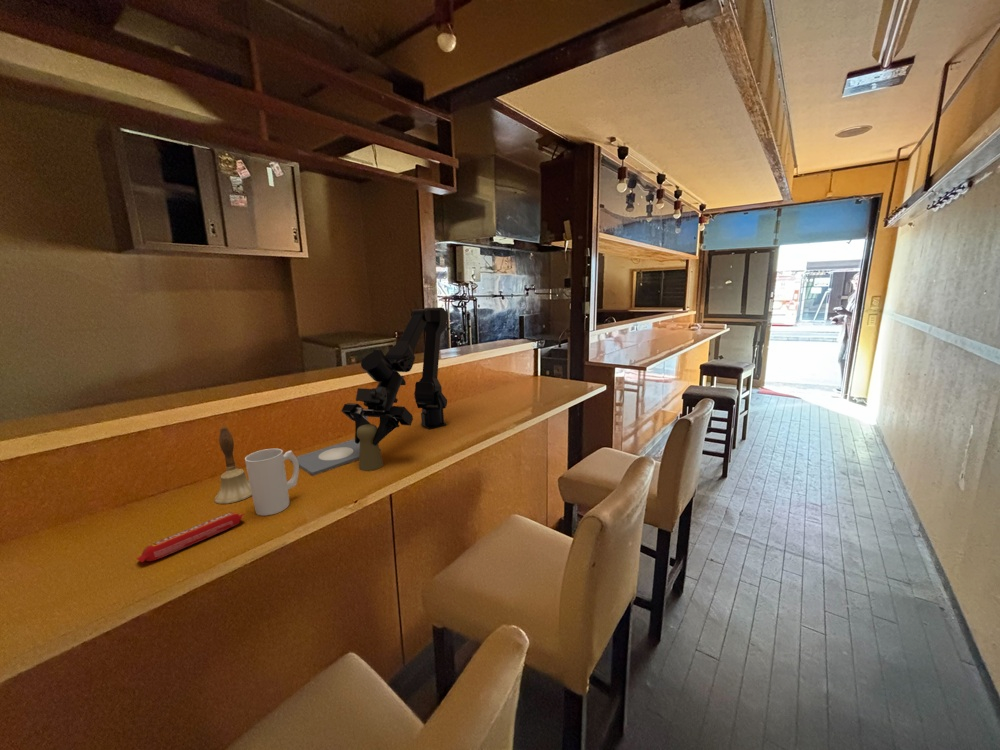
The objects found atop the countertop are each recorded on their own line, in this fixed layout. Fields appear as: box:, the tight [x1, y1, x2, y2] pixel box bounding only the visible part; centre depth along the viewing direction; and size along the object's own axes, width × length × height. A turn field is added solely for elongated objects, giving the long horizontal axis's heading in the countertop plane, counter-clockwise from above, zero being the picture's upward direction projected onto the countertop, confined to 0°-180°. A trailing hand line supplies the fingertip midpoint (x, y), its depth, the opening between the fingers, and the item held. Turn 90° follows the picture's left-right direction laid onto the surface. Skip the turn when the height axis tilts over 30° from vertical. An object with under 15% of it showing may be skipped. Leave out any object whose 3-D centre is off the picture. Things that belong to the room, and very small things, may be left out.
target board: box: [289, 438, 381, 476], centre depth 110 cm, size 19×14×1 cm
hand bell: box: [213, 426, 252, 505], centre depth 89 cm, size 8×8×16 cm
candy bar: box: [136, 512, 245, 563], centre depth 73 cm, size 16×4×3 cm, turn 144°
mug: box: [244, 447, 300, 517], centre depth 84 cm, size 10×7×12 cm, turn 147°
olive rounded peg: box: [357, 423, 384, 472], centre depth 102 cm, size 6×6×11 cm
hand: (365, 443), depth 101 cm, fingers closed on olive rounded peg, 5 cm apart
